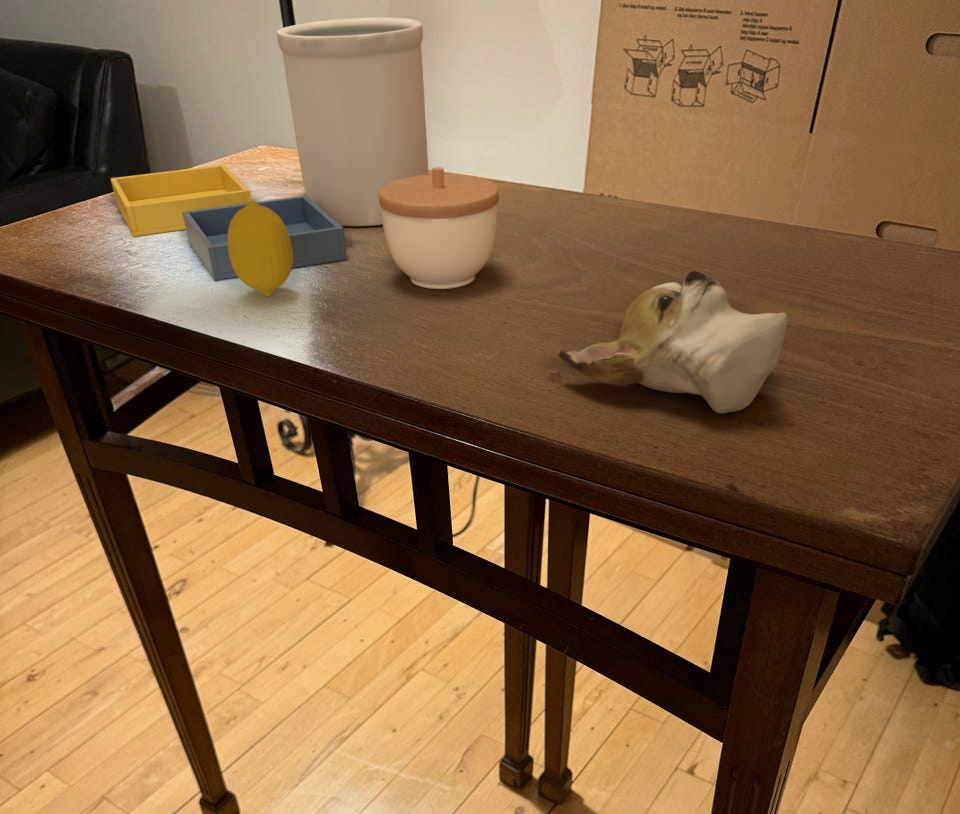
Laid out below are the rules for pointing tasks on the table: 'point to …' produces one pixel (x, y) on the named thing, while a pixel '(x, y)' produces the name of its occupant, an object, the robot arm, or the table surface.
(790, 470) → the table surface
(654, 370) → the ceramic sculpture
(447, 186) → the trinket box
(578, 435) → the table surface
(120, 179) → the yellow tray
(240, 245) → the lemon
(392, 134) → the utensil holder
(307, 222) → the blue tray
